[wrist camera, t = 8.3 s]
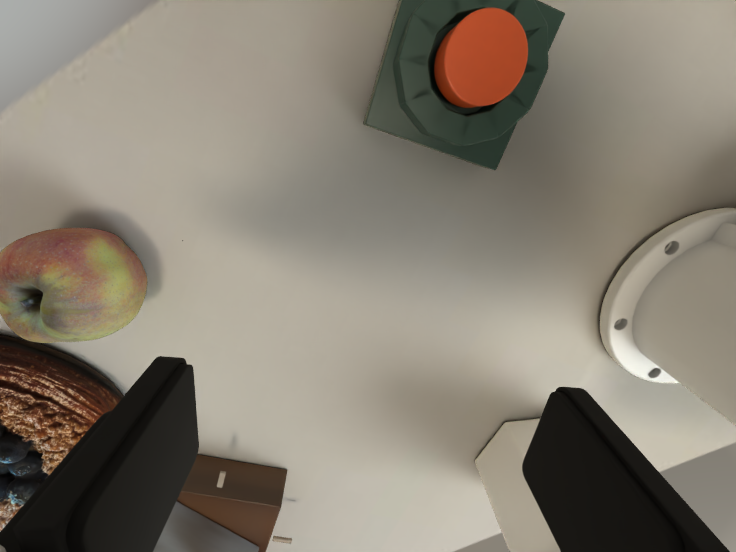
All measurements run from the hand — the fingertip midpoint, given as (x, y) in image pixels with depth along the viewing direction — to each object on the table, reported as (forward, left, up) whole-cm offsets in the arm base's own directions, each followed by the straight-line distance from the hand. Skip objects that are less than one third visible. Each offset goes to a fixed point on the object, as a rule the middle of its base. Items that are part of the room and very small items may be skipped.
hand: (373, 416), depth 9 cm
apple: (+5, -13, -14) cm, 20 cm away
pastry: (+18, -18, -13) cm, 28 cm away
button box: (-10, +2, -13) cm, 17 cm away
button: (-10, +2, -10) cm, 14 cm away
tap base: (+23, -4, -13) cm, 27 cm away
